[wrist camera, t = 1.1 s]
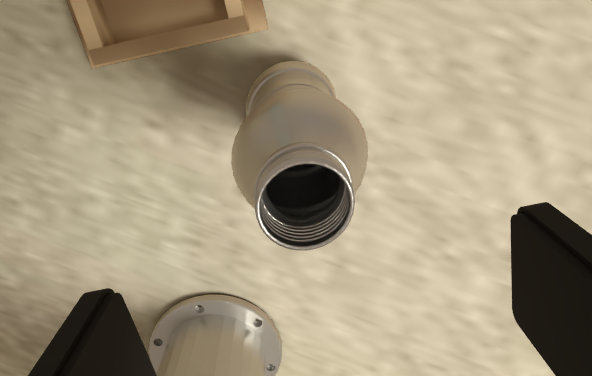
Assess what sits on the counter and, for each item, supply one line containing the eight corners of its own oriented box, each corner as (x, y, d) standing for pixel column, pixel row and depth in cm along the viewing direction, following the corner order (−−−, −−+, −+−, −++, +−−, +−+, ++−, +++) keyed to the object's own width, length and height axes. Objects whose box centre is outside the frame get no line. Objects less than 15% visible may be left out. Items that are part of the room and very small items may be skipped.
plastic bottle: (230, 103, 34) (175, 215, 16) (290, 37, 33) (305, 75, 14) (290, 157, 36) (303, 313, 18) (350, 97, 35) (433, 200, 16)
